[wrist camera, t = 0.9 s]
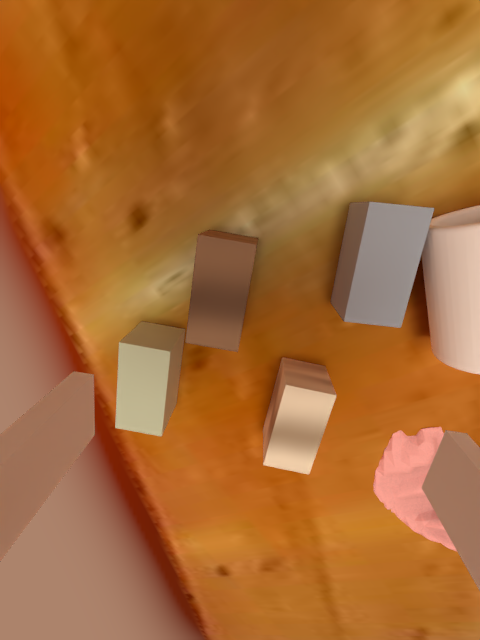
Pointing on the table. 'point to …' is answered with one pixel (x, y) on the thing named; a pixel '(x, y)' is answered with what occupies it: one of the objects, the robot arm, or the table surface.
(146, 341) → the sage brick
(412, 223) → the slate brick
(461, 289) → the mug
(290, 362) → the birch brick
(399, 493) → the cloth
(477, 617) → the table surface
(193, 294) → the walnut brick
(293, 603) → the table surface
